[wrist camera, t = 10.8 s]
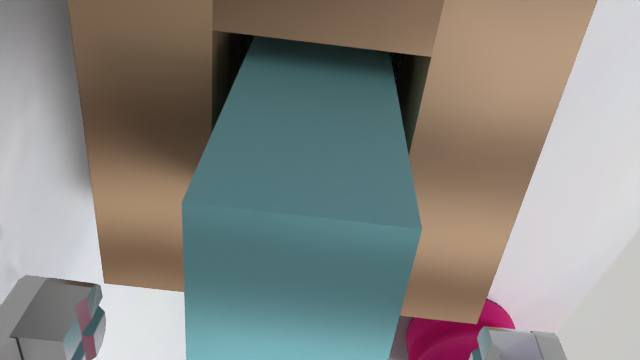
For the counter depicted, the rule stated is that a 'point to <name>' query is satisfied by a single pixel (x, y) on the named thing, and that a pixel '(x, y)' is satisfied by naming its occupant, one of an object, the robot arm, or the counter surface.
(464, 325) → the pepper mill
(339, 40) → the wooden holder
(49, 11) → the counter surface
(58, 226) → the counter surface
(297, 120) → the teal rectangular block
